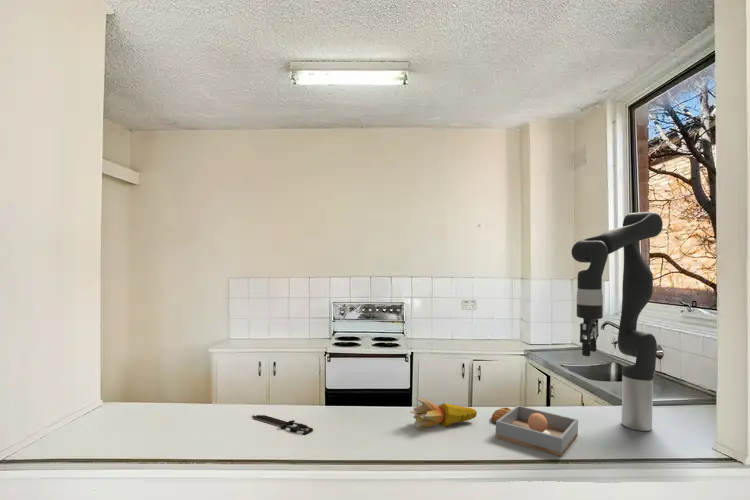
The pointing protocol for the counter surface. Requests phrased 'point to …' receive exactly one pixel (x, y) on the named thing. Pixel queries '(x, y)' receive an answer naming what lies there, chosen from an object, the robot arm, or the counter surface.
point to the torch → (440, 414)
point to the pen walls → (535, 437)
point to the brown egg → (537, 422)
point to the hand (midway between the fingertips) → (589, 353)
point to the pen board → (549, 430)
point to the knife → (283, 424)
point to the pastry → (499, 413)
